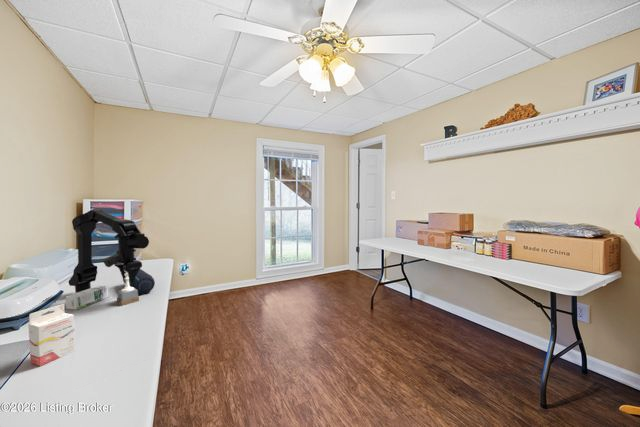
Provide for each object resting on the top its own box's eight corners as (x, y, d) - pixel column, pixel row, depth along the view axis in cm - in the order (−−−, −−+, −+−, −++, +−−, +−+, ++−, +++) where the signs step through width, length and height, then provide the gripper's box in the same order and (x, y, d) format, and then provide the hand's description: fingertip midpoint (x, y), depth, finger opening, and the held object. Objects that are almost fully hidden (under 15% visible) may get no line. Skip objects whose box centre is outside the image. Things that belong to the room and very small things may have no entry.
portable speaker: (121, 286, 141) (120, 268, 140) (143, 282, 148) (142, 265, 148) (133, 298, 124) (132, 278, 124) (157, 292, 132) (156, 273, 131)
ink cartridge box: (40, 367, 73) (36, 316, 72) (30, 363, 75) (26, 314, 74) (76, 350, 81) (73, 304, 81) (67, 347, 83) (64, 302, 82)
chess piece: (125, 288, 122) (124, 267, 122) (136, 288, 123) (135, 267, 122) (118, 292, 117) (117, 270, 117) (129, 292, 118) (128, 270, 117)
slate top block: (118, 297, 119) (117, 290, 119) (133, 293, 124) (132, 287, 124) (122, 300, 116) (122, 293, 116) (137, 296, 121) (137, 289, 121)
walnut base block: (117, 303, 119) (116, 297, 119) (133, 299, 125) (133, 293, 125) (122, 307, 115) (121, 300, 115) (139, 302, 121) (138, 296, 121)
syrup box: (75, 297, 111) (108, 285, 125) (64, 296, 112) (98, 285, 126) (76, 310, 111) (109, 297, 125) (65, 309, 112) (99, 296, 126)
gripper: (98, 248, 119) (100, 281, 120) (111, 253, 108) (113, 289, 109) (127, 244, 128) (128, 275, 129) (141, 248, 117) (143, 282, 118)
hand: (127, 280), depth 121 cm, fingers open, 9 cm apart
